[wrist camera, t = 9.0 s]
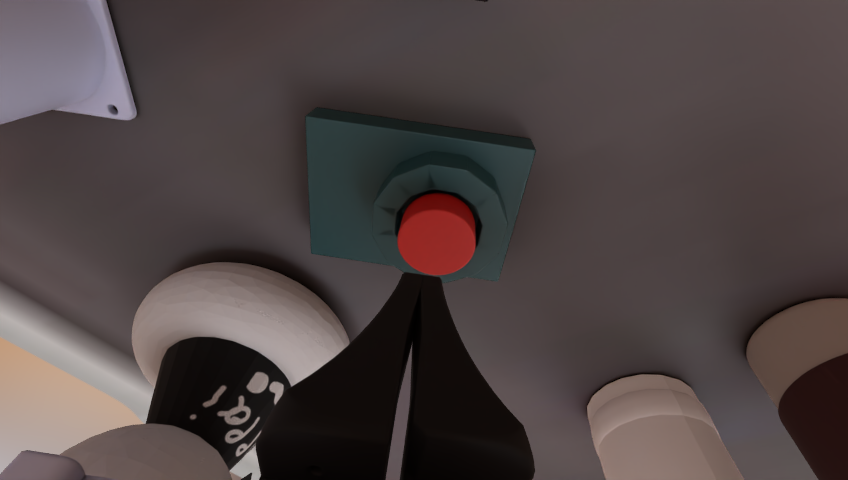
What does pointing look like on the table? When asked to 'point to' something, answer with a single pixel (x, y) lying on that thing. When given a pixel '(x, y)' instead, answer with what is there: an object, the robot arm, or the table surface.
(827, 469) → the coffee cup
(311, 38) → the table surface
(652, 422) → the bottle
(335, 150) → the button box
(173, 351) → the decorative figurine
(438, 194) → the stop button
